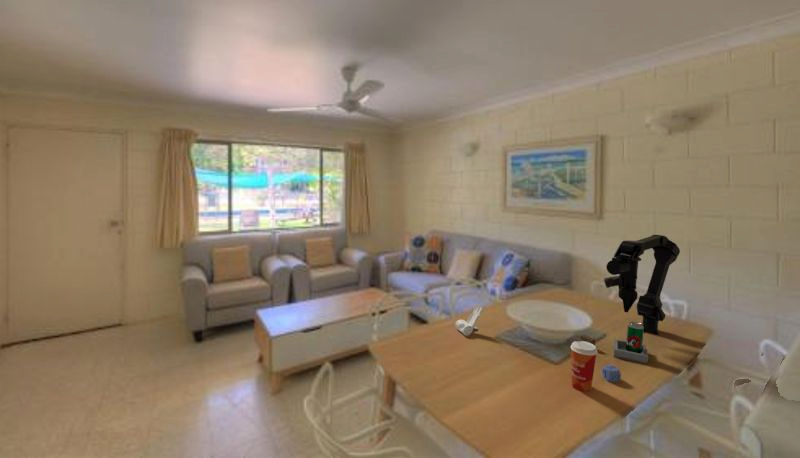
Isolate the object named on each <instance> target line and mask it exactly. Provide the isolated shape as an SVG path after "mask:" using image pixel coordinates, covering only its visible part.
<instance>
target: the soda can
mask: <svg viewBox="0 0 800 458" xmlns="http://www.w3.org/2000/svg"><path fill="white" fill-rule="evenodd" d="M644 333H645V332H644V327H643V325H642V323H641V322H638V321H629V322H628V324H627V330H626V338H625V339H626V340H625V341H626V350H625V351H630V352H635V353H640V354H642V344H643V341H644Z"/></svg>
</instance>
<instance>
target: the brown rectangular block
mask: <svg viewBox="0 0 800 458" xmlns="http://www.w3.org/2000/svg"><path fill="white" fill-rule="evenodd" d="M579 341H585V342H589V343H591V344H593V345H595V346H596V339H595V338H593V337H591V336H588V335H586V334H581V335H580V340H579Z"/></svg>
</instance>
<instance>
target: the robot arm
mask: <svg viewBox="0 0 800 458" xmlns="http://www.w3.org/2000/svg"><path fill="white" fill-rule="evenodd" d="M650 249H652V251H653V257H654V259H655V265H654V267H653V271H652V274H651V277H650V280H649V283H648V287H647V290H646V292H645V294H643V295H640V296H638V291H637V280H638V269H639V268H638V267H639V262H641V261H642V258H641V256H642V255H643V254H644V253H645V251H647V250H650ZM680 253H681V249H680V248H679V246H678V245H677V244H676V243H675V242H673V241H672V240H671V239H669V238H668V237H667V236H665V235H664V234H663V235H662V234H652V235H651V236H648V237H644V238H641V239H639V240H623V241H621V242H620V243H619V245H618V247H617V249H616V250H615V253H614V255H613V257H611V260H610V261H609V260H608V262H607V263H606V270H607V272H608V274H610V275H612V276H610V277H604V279H603V283H604V285H605V287H606V288H609V289H610V288H612V287H618V295H617V296H618V298H619V299H621V300H622V305H623V311H624V313H629V311H630V309H631V308H632V307H633V305H634V303H636V301H637V303H636V312H637V315H638V316H641V317H642V323H641V324H642V325H643V327H644V332H643V333H648V334H649V333H650V334H654V335H660V330H659V322H664V320H665V319H666V313H665V312H664V310H663V309H662V307H663V303H662V300H661V298H660V297H661V293H662V291H663V287H664V285H665V281H666V279H667V274H668V271H669V269H670V266H671V265H672V264H673V263H675V262H676V261H677V259H678V256H679V255H680ZM637 299H638V300H637Z"/></svg>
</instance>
